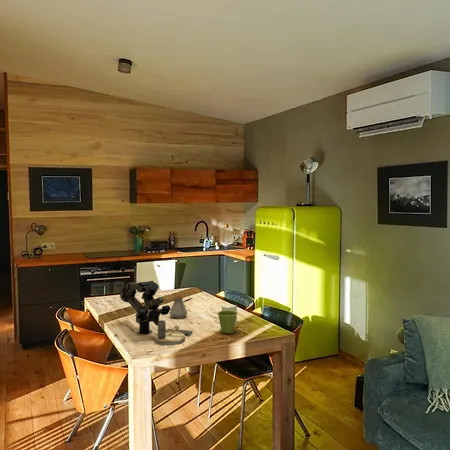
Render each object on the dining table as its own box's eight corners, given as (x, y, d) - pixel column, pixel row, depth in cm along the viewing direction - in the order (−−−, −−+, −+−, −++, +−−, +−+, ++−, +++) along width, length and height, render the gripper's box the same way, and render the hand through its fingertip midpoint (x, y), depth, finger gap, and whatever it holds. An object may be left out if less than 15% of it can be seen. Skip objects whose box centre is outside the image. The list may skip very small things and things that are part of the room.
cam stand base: (166, 331, 269) (166, 328, 268) (194, 334, 264) (194, 330, 263) (148, 343, 247) (148, 340, 247) (178, 346, 242) (178, 343, 242)
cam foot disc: (164, 330, 267) (164, 312, 266) (191, 332, 264) (190, 313, 263) (150, 341, 246) (150, 322, 245) (179, 343, 243) (179, 323, 242)
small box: (231, 320, 292) (231, 304, 292) (237, 322, 288) (237, 305, 287) (221, 322, 287) (221, 305, 287) (227, 324, 283) (227, 307, 282)
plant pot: (216, 329, 273) (216, 310, 272) (236, 329, 273) (237, 310, 273) (217, 335, 261) (217, 315, 260) (238, 335, 262) (238, 315, 261)
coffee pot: (166, 316, 302) (166, 293, 301) (181, 313, 309) (180, 291, 308) (184, 323, 285) (184, 299, 284) (199, 320, 292) (199, 297, 291)
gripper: (137, 294, 249) (145, 319, 240) (169, 290, 259) (178, 314, 251) (132, 306, 256) (140, 330, 248) (163, 302, 266) (171, 325, 258)
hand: (157, 325), depth 251 cm, fingers closed
